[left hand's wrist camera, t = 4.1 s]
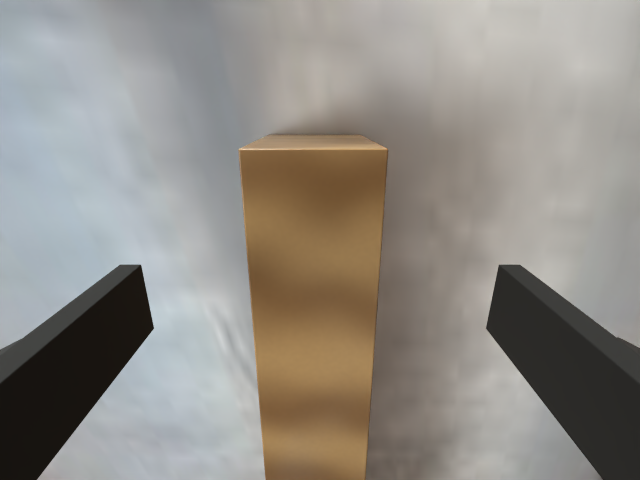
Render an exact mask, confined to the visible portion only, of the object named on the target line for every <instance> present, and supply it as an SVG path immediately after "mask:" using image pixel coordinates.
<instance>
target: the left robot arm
mask: <svg viewBox="0 0 640 480" xmlns="http://www.w3.org/2000/svg"><path fill="white" fill-rule="evenodd" d="M153 329H154V327H153V322H152V317H151V312H150V307H149V302H148V297H147V292H146V287H145V282H144V277H143V272H142V267H141V265H119V266H118V267H117V268H115V269H114V270H113V271H111V272H110V273H109V274H107V275H106V276H105V277H103V278H102V279H101V280H99V281H98V282H97V283H95V284H94V285H93V286H91V287H90V288H89V289H87V290H86V291H85V292H83V293H82V294H81V295H79V296H78V297H77V298H75V299H74V300H73V301H72V302H70V303H69V304H68V305H66V306H65V307H64V308H62V309H61V310H60V311H58V312H57V313H56V314H54V315H53V316H52V317H50V318H49V319H48V320H46V321H45V322H44V323H42V324H41V325H40V326H38V327H37V328H36V329H34V330H33V331H32V332H30V333H29V334H28V335H26V336H25V337H24V338H23V339H20V340H18V341H16V342H14V343H12V344H11V345H9V346H7V347H5V348H3V349H1V350H0V480H37V479H38V477H39V476H40V475H41V474H42V472H43V471H44V470H45V468H46V467H47V466H48V465H49V463H50V462H51V461H52V459H53V458H54V457H55V455H56V454H57V453H58V452H59V450H60V449H61V448H62V446H63V445H64V444H65V443H66V441H67V440H68V439H69V437H70V436H71V435H72V434H73V432H74V431H75V430H76V428H77V427H78V426H79V424H80V423H81V422H82V421H83V419H84V418H85V417H86V415H87V414H88V413H89V412H90V410H91V409H92V408H93V406H94V405H95V404H96V403H97V401H98V400H99V399H100V397H101V396H102V395H103V393H104V392H105V391H106V390H107V388H108V387H109V386H110V384H111V383H112V382H113V381H114V379H115V378H116V377H117V375H118V374H119V373H120V372H121V370H122V369H123V368H124V366H125V365H126V364H127V362H128V361H129V360H130V359H131V357H132V356H133V355H134V353H135V352H136V351H137V350H138V348H139V347H140V346H141V344H142V343H143V342H144V341H145V339H146V338H147V337H148V335H149V334H150V333H151V331H152V330H153ZM486 329H487V330H488V331H489V333H490V334H491V335H492V337H493V338H494V339H495V341H496V342H497V343H498V344H499V346H500V347H501V348H502V350H503V351H504V352H505V353H506V355H507V356H508V357H509V359H510V360H511V361H512V362H513V364H514V365H515V366H516V368H517V369H518V370H519V372H520V373H521V374H522V375H523V377H524V378H525V379H526V381H527V382H528V383H529V384H530V386H531V387H532V388H533V390H534V391H535V392H536V393H537V395H538V396H539V397H540V399H541V400H542V401H543V403H544V404H545V405H546V406H547V408H548V409H549V410H550V412H551V413H552V414H553V415H554V417H555V418H556V419H557V421H558V422H559V423H560V424H561V426H562V427H563V428H564V430H565V431H566V432H567V434H568V435H569V436H570V437H571V439H572V440H573V441H574V443H575V444H576V445H577V446H578V448H579V449H580V450H581V452H582V453H583V454H584V455H585V457H586V458H587V459H588V461H589V462H590V463H591V465H592V466H593V467H594V468H595V470H596V471H597V472H598V474H599V475H600V476H601V477H602V479H603V480H640V348H638V347H636V346H634V345H632V344H630V343H628V342H626V341H625V340H623V339H621V338H616V337H615V336H614V335H612V334H611V333H610V332H608V331H607V330H606V329H604V328H603V327H602V326H600V325H599V324H598V323H596V322H595V321H594V320H592V319H591V318H590V317H588V316H587V315H586V314H584V313H583V312H582V311H580V310H579V309H578V308H576V307H575V306H574V305H572V304H571V303H570V302H568V301H567V300H566V299H565V298H563V297H562V296H561V295H559V294H558V293H557V292H555V291H554V290H553V289H551V288H550V287H549V286H547V285H546V284H545V283H543V282H542V281H541V280H539V279H538V278H537V277H535V276H534V275H533V274H531V273H530V272H529V271H527V270H526V269H525V268H523V267H522V266H521V265H499V267H498V272H497V277H496V282H495V287H494V292H493V297H492V302H491V307H490V312H489V317H488V322H487V327H486Z"/></svg>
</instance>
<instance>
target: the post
mask: <svg viewBox="0 0 640 480" xmlns="http://www.w3.org/2000/svg"><path fill="white" fill-rule="evenodd" d="M238 151H239V163H240V175H241V187H242V199H243V211H244V224H245V236H246V248H247V260H248V272H249V284H250V296H251V308H252V321H253V333H254V345H255V357H256V369H257V381H258V393H259V405H260V418H261V430H262V442H263V454H264V466H265V478H266V480H365V478H366V463H367V449H368V434H369V420H370V405H371V391H372V376H373V362H374V347H375V333H376V318H377V304H378V289H379V275H380V260H381V246H382V231H383V217H384V202H385V188H386V173H387V159H388V149H387V148H385V147H383V146H381V145H379V144H377V143H375V142H373V141H371V140H369V139H367V138H366V137H364V136H362V135H267V136H265V137H263V138H261V139H259V140H257V141H255V142H253V143H250V144H248V145H246V146H244V147H242V148H240V149H239V150H238Z"/></svg>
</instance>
